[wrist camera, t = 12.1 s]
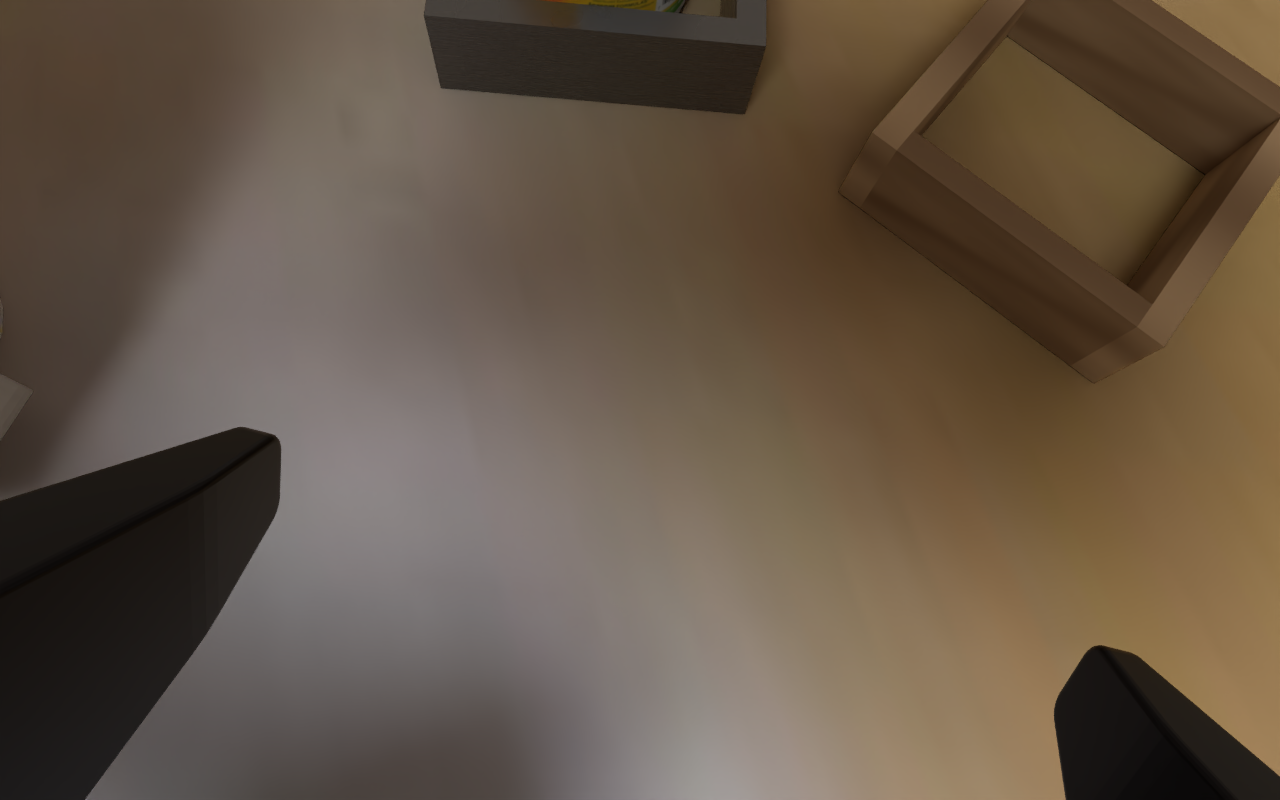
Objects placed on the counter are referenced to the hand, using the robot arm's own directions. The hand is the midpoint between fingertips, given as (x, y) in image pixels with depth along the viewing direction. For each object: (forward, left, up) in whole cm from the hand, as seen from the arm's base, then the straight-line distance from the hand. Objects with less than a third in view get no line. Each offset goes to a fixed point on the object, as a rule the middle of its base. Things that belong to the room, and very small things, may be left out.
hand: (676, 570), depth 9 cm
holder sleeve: (+17, +6, -13) cm, 22 cm away
